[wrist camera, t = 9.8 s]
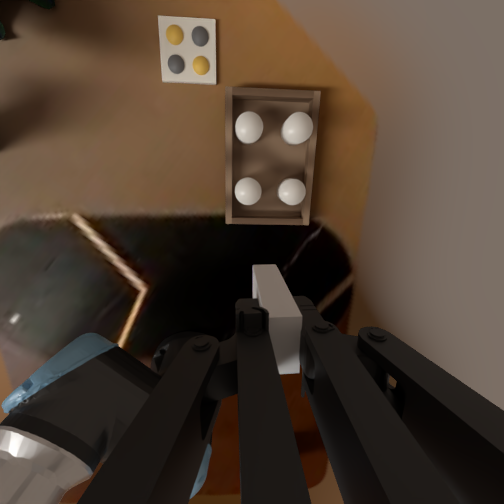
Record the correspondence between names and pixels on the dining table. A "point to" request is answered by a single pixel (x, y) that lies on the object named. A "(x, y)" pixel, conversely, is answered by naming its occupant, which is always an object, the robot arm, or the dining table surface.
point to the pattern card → (187, 50)
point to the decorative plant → (42, 0)
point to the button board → (269, 154)
